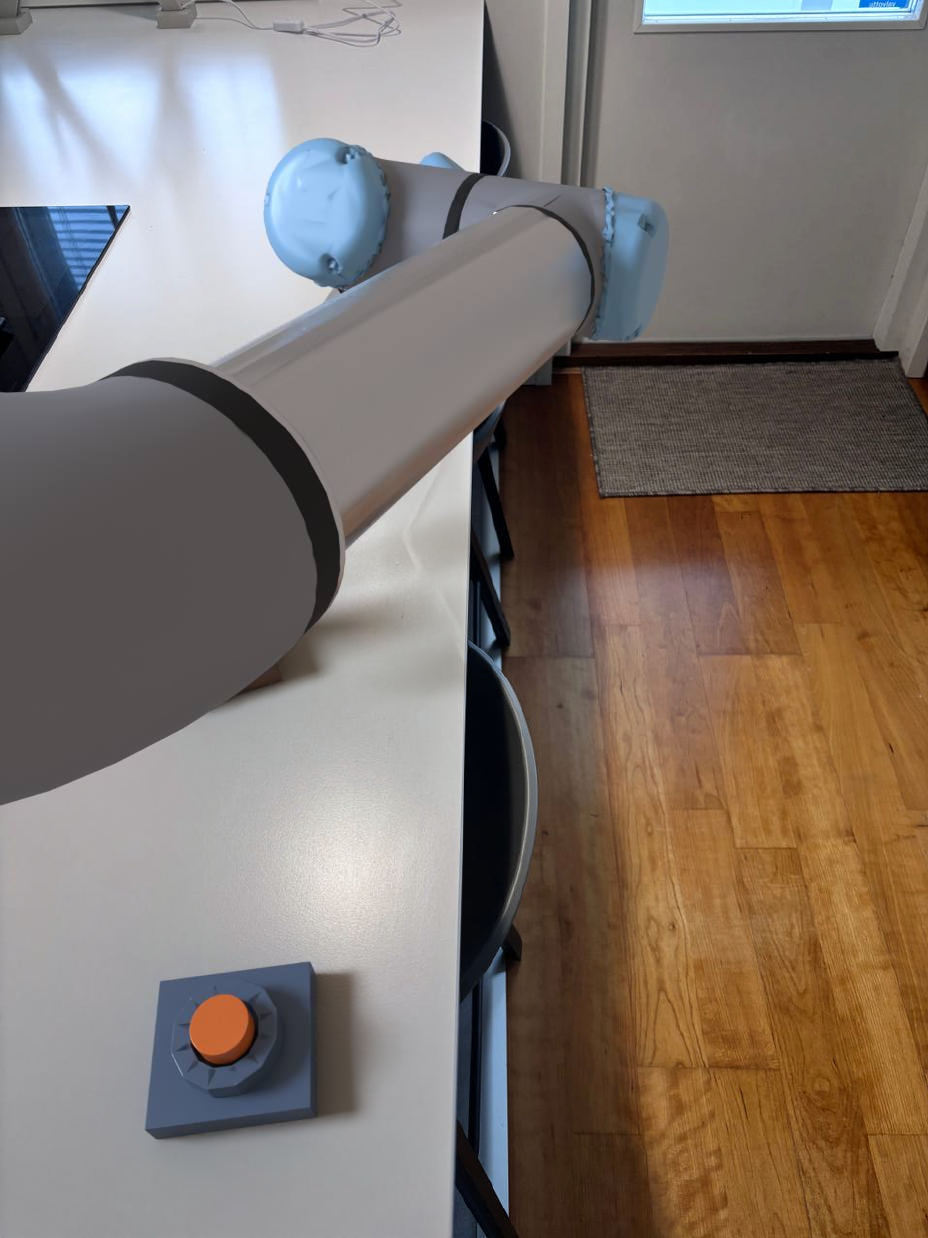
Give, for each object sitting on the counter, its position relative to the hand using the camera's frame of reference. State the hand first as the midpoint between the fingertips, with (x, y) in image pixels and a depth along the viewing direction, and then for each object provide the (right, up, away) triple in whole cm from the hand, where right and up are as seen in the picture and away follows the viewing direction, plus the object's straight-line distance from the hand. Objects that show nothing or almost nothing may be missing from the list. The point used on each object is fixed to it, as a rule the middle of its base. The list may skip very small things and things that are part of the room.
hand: (199, 569), depth 78 cm
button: (+7, -30, -19) cm, 36 cm away
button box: (+7, -32, -16) cm, 37 cm away
